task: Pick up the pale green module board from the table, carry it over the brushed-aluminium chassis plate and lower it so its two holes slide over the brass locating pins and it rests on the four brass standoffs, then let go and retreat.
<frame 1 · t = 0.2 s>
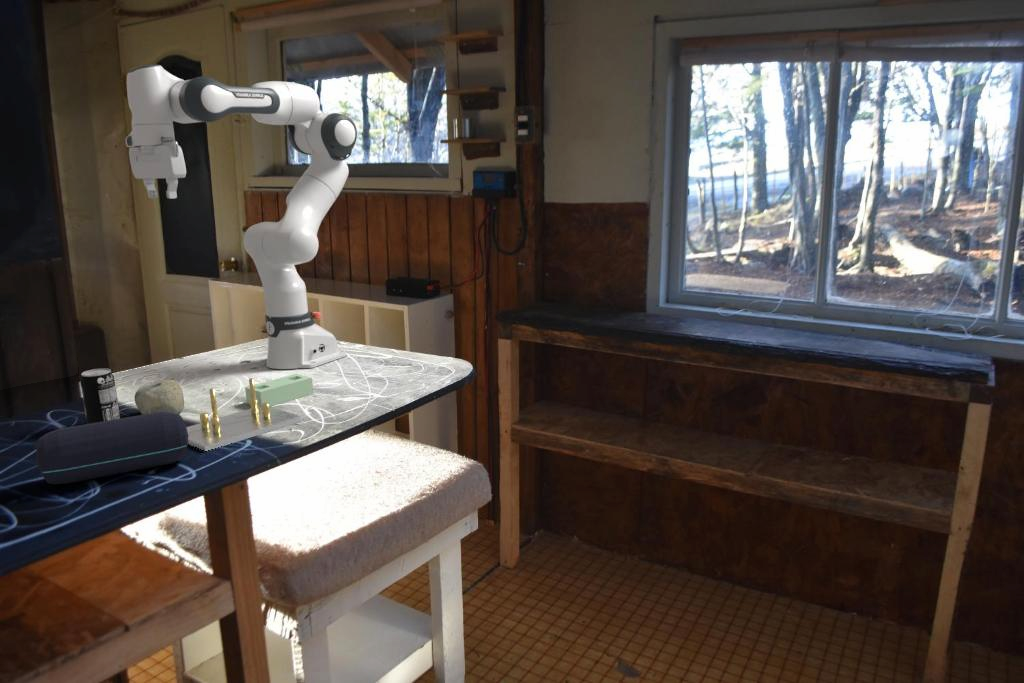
hand: (162, 198, 188), 47 cm above the table, fingers open, 8 cm apart
portable speaker: (119, 473, 148), on the table
chassis: (237, 429, 169), on the table
board: (280, 398, 189), on the table
stone: (161, 415, 181), on the table
beverage can: (104, 425, 175), on the table
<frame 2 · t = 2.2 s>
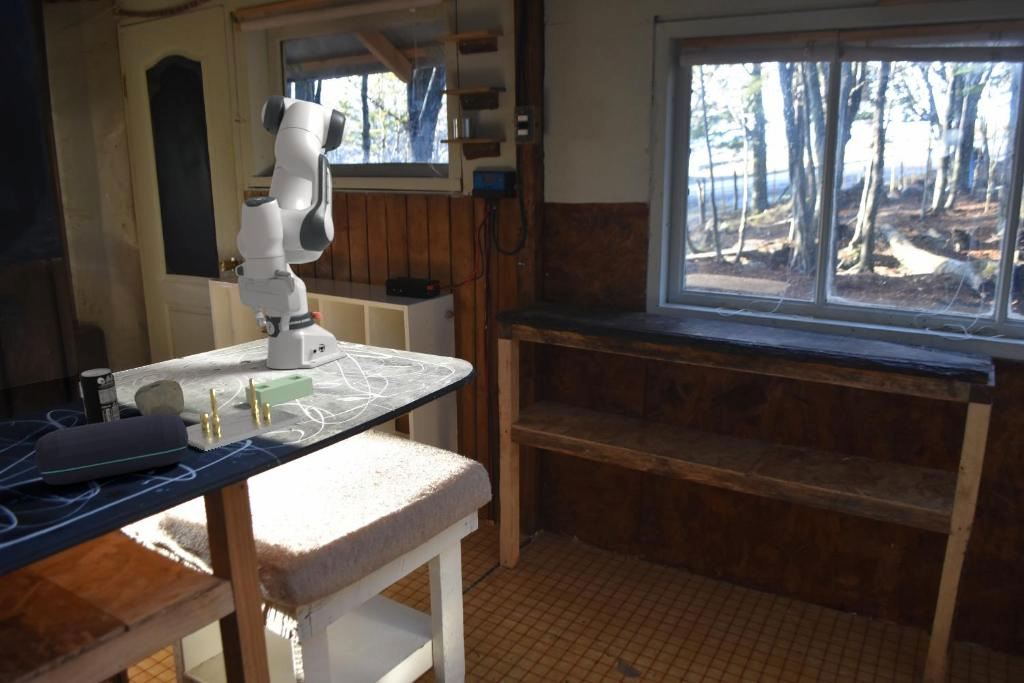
hand: (272, 328, 185), 17 cm above the table, fingers open, 8 cm apart
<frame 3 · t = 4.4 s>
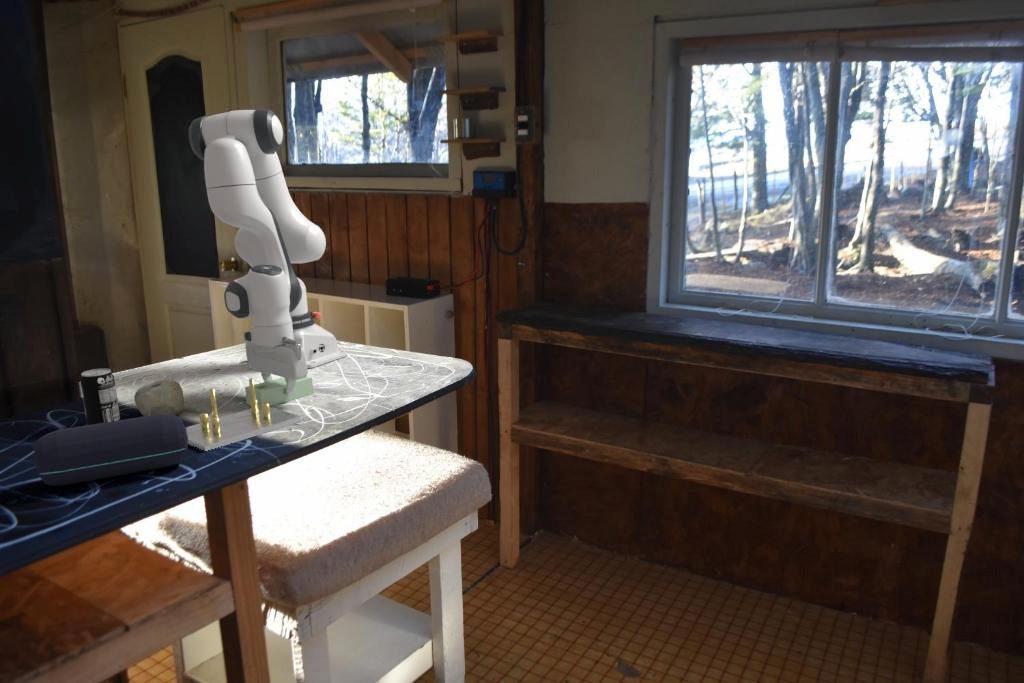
hand: (279, 391, 189), 2 cm above the table, fingers closed on board, 6 cm apart
board: (280, 398, 189), on the table, touching gripper
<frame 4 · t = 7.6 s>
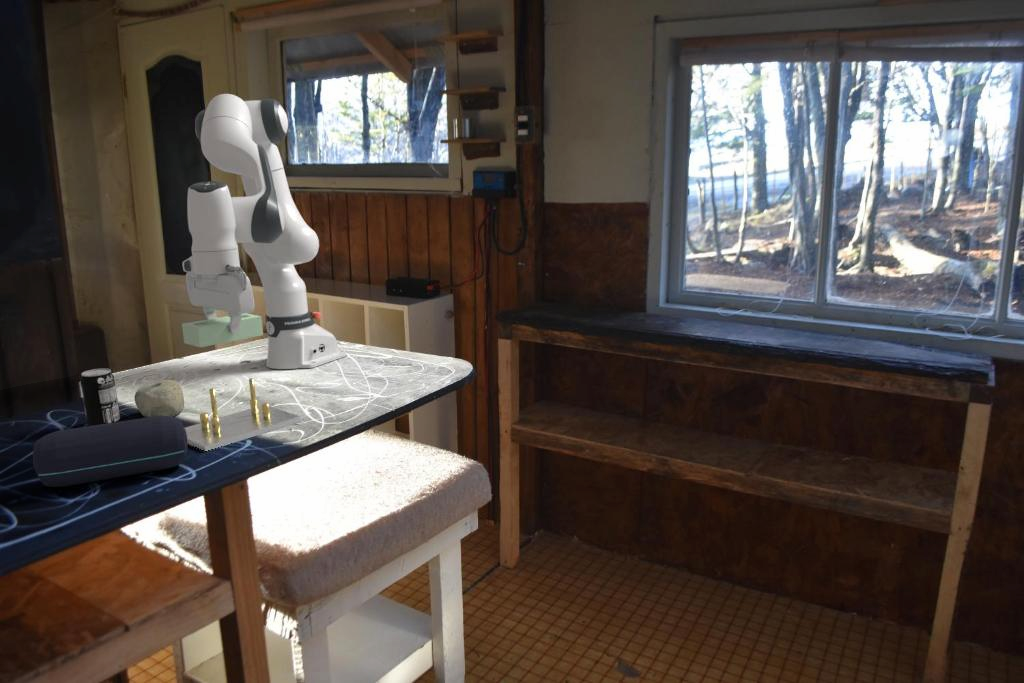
hand: (224, 330, 164), 21 cm above the table, fingers closed on board, 6 cm apart
board: (224, 339, 164), point 20 cm above the table, touching gripper
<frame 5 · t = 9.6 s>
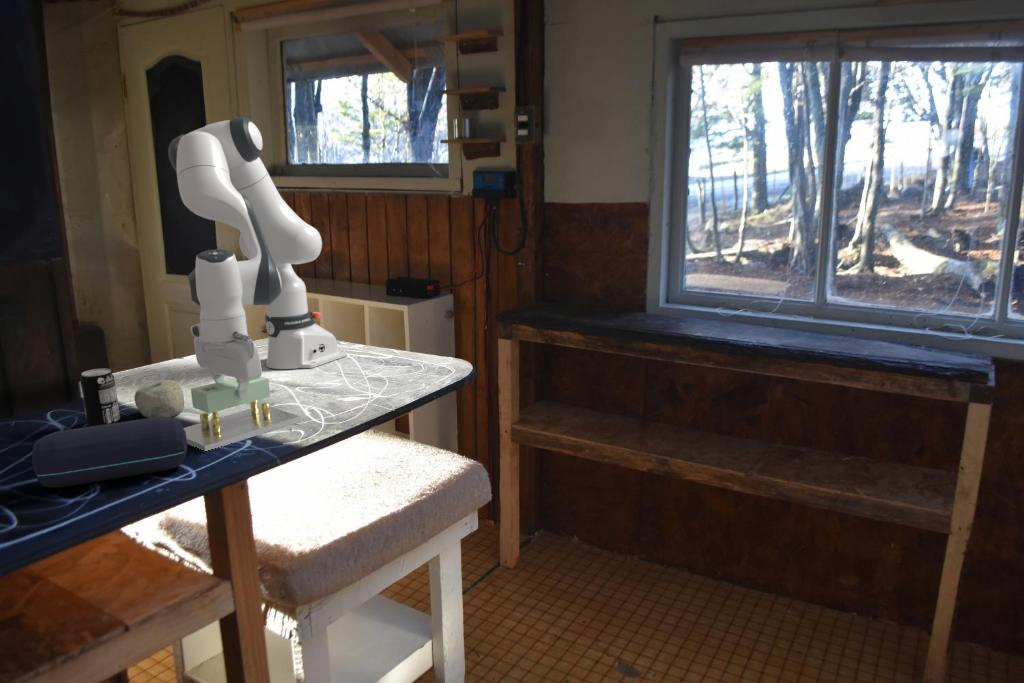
hand: (232, 394, 167), 8 cm above the table, fingers closed on board, 6 cm apart
board: (232, 402, 167), point 6 cm above the table, touching gripper
when the fingers open (7 cm above the table, at t = 11.0 s): board stays where it is, resting on chassis.
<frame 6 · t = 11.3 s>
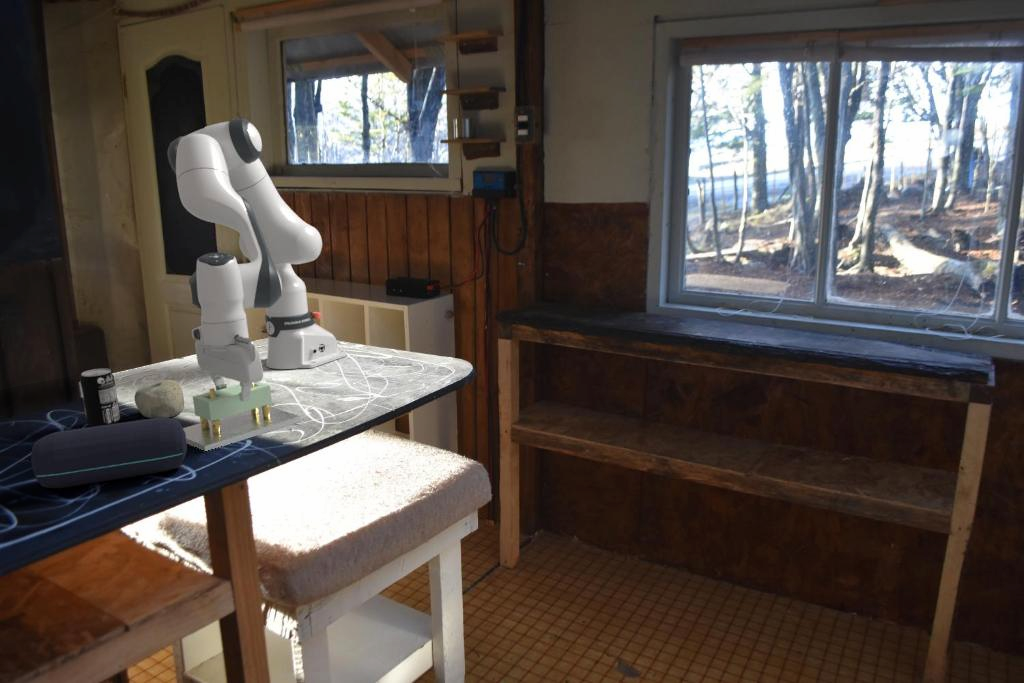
hand: (233, 396, 167), 7 cm above the table, fingers open, 8 cm apart
board: (234, 409, 168), point 4 cm above the table, touching chassis
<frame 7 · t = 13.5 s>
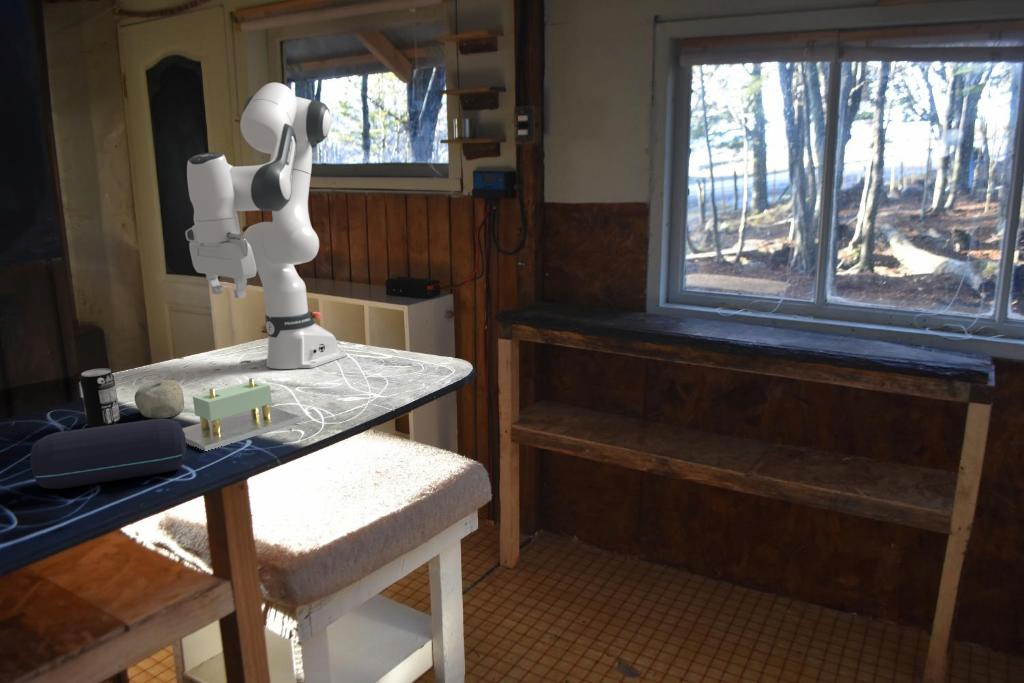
hand: (229, 295, 172), 27 cm above the table, fingers open, 8 cm apart
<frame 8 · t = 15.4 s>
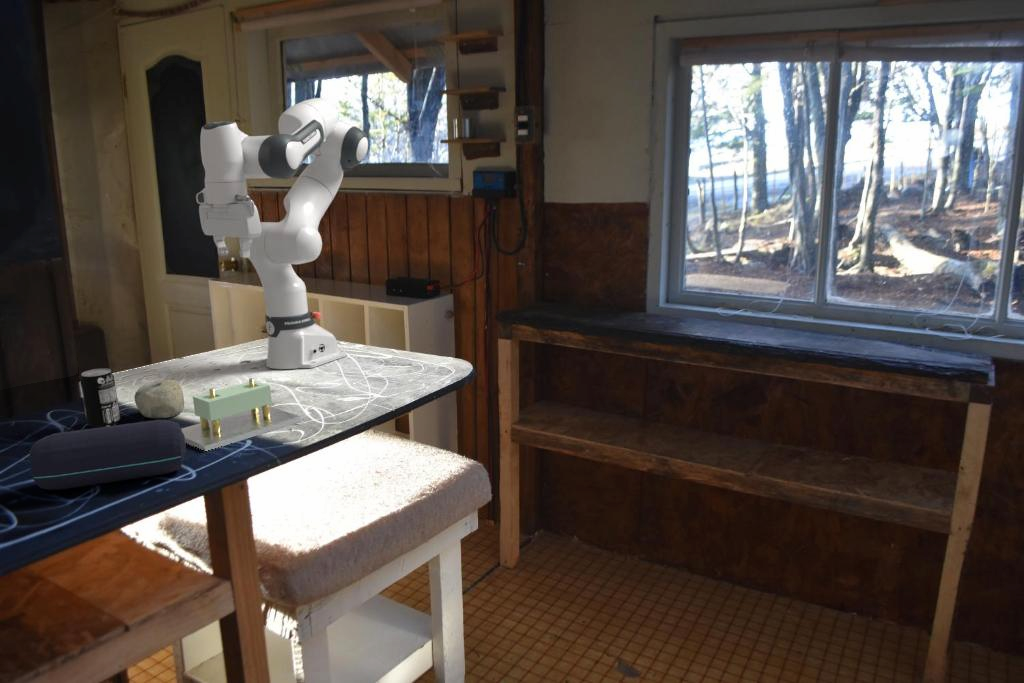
hand: (234, 256, 183), 34 cm above the table, fingers open, 8 cm apart
at the end: board 0.1 cm off-centre on the chassis, point 4.5 cm above the chassis's base; board tilted 0°; the gripper is holding nothing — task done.
